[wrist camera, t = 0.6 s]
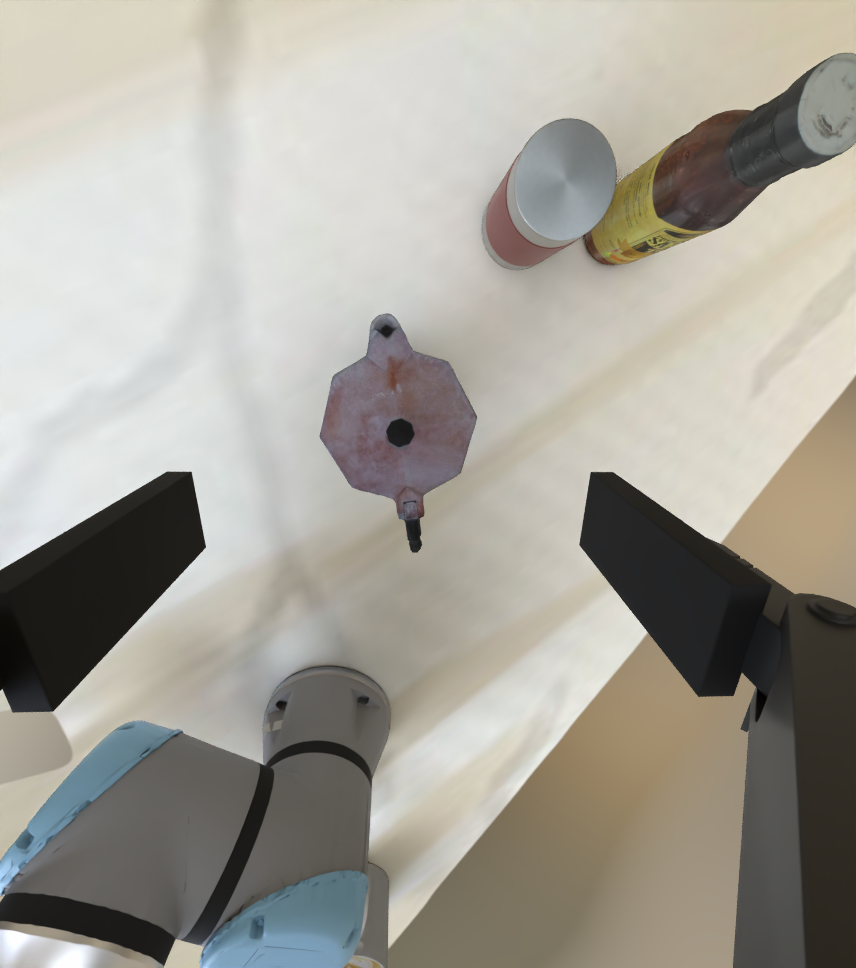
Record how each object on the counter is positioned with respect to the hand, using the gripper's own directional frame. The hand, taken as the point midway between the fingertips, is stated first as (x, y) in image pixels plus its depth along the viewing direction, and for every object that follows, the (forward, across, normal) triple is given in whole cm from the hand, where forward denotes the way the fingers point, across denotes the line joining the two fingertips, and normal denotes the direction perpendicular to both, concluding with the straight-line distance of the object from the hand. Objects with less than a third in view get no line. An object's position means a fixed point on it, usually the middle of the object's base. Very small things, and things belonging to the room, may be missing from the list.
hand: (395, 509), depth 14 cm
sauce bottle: (+30, -19, -14) cm, 39 cm away
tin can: (+30, -10, -14) cm, 35 cm away
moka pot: (+29, 0, +2) cm, 29 cm away
